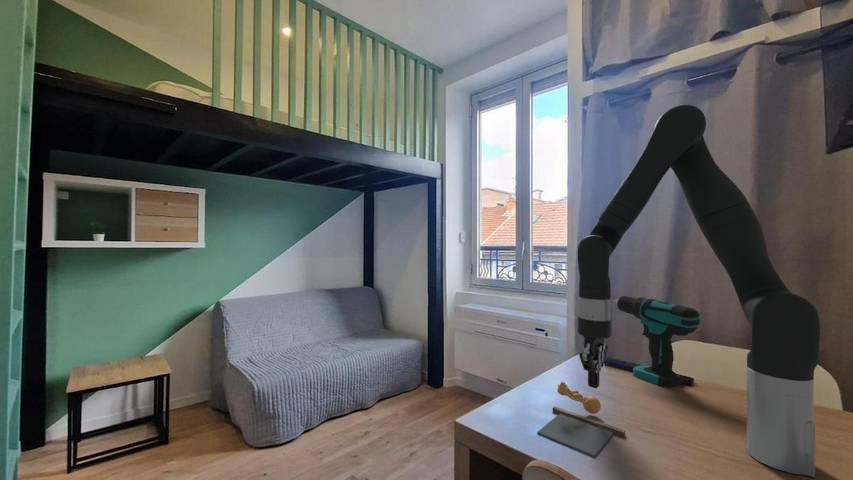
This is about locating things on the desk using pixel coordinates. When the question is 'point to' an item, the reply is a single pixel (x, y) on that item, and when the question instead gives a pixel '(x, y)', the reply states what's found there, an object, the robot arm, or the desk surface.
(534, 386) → the desk surface
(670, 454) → the desk surface
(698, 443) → the desk surface
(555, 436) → the mat
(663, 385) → the power drill
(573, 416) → the bar
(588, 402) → the figurine
